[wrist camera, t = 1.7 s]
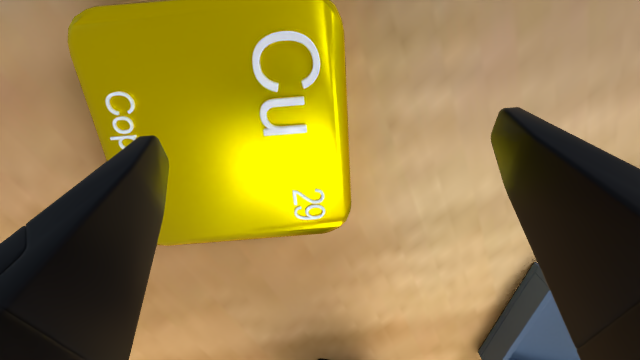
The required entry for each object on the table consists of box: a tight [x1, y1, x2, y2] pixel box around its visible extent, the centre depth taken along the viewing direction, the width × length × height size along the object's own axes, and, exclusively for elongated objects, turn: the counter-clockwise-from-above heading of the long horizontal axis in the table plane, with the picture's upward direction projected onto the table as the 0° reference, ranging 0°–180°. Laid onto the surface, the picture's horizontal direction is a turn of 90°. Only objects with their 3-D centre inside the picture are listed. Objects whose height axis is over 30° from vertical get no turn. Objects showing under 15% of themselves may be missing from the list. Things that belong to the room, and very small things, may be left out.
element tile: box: [68, 0, 351, 246], centre depth 23 cm, size 15×15×5 cm
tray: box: [478, 262, 580, 360], centre depth 34 cm, size 11×16×3 cm
